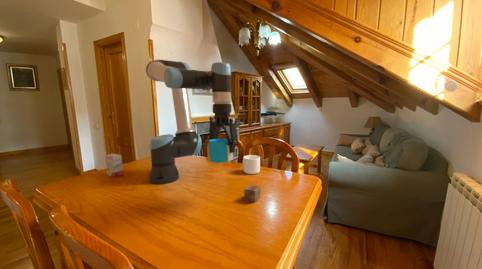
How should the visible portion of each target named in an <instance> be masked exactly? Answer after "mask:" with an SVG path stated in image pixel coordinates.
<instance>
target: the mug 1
mask: <svg viewBox="0 0 482 269" xmlns="http://www.w3.org/2000/svg"><path fill="white" fill-rule="evenodd" d="M208 142H209V143H208V147H209V148H208V149H209V150H208V151H209V162H211V163H215V164H220V163H221V164H222V163H227V162H229V161H227V144H228V141H227V138H218V139H212V140H209V141H208Z"/></svg>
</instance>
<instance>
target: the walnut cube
mask: <svg viewBox="0 0 482 269" xmlns="http://www.w3.org/2000/svg"><path fill="white" fill-rule="evenodd" d="M243 192H244V193H243V194H244V196H243V197H244V200H243V201H245V202H250V203H255V204H256V203H257V202H258V200H260V198H261V186H258V185H253V184H249V185H247V186H246V187H245V188H244V189H243Z"/></svg>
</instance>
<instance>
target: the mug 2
mask: <svg viewBox="0 0 482 269" xmlns="http://www.w3.org/2000/svg"><path fill="white" fill-rule="evenodd" d="M242 166H243V169H242V170H243V172H244V173H245V174H247V175H255V174H259V172H260V171H261V156H259V155H256V154H254V155H253V154H247V155H244V156H243V159H242Z"/></svg>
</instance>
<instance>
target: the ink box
mask: <svg viewBox="0 0 482 269" xmlns="http://www.w3.org/2000/svg"><path fill="white" fill-rule="evenodd" d="M104 156H105V164H106V173H107V176H110V177H113V178H117V176H118V177H121V176H124V168H123V160H122V159H123V158H122V154H117V153H109V154H105V155H104Z"/></svg>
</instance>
